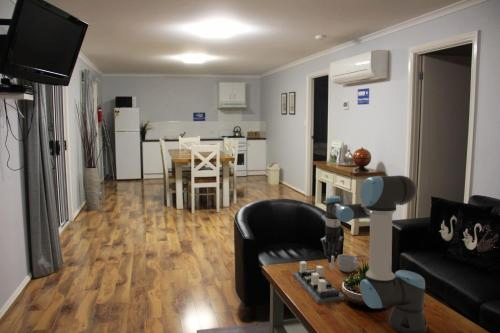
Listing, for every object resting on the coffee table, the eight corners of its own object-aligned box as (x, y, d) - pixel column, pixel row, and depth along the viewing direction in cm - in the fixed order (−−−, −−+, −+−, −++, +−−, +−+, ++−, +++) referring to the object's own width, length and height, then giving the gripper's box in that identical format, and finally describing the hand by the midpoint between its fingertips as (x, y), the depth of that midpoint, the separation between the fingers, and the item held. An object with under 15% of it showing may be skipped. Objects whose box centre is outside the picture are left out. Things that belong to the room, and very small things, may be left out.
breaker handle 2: (318, 284, 201) (319, 275, 200) (313, 285, 200) (314, 275, 199) (316, 281, 204) (316, 272, 203) (311, 282, 203) (311, 273, 202)
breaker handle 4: (325, 291, 193) (326, 281, 192) (320, 292, 192) (320, 282, 191) (323, 288, 196) (323, 278, 195) (317, 289, 195) (318, 279, 195)
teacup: (333, 267, 233) (334, 254, 232) (350, 265, 236) (350, 252, 235) (346, 277, 220) (346, 263, 218) (363, 274, 223) (364, 261, 222)
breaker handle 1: (306, 272, 216) (306, 263, 215) (301, 272, 215) (301, 263, 214) (304, 269, 219) (304, 261, 218) (299, 270, 218) (299, 261, 218)
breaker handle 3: (323, 276, 210) (323, 267, 209) (318, 277, 209) (318, 268, 208) (320, 274, 213) (320, 265, 212) (315, 274, 212) (316, 265, 211)
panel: (344, 299, 193) (344, 291, 193) (317, 303, 190) (317, 295, 189) (316, 273, 224) (316, 266, 223) (293, 276, 220) (293, 269, 220)
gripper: (340, 222, 214) (339, 264, 218) (318, 224, 211) (317, 266, 214) (347, 226, 207) (345, 269, 211) (324, 228, 204) (323, 272, 207)
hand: (331, 268), depth 212 cm, fingers closed
